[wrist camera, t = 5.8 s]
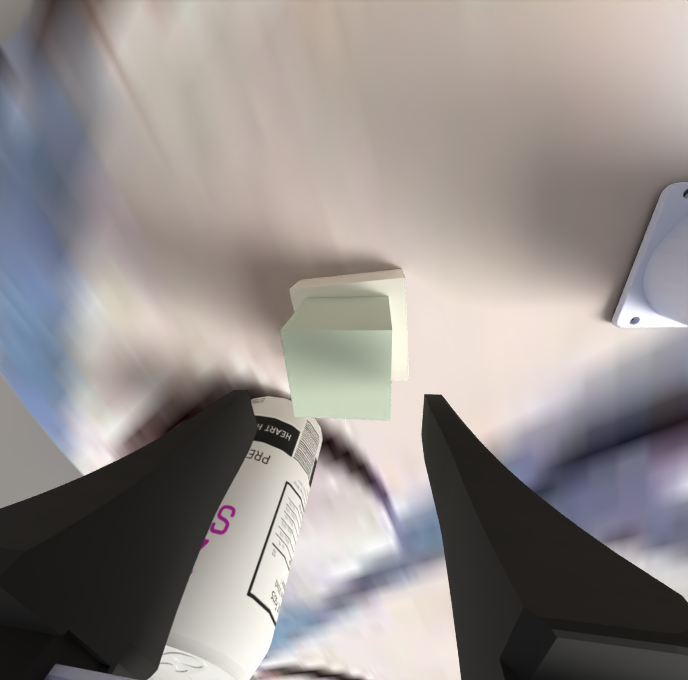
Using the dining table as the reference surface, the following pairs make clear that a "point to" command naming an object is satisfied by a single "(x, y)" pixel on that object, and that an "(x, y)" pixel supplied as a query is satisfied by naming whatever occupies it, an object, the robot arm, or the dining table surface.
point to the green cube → (340, 358)
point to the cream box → (366, 286)
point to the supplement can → (246, 554)
